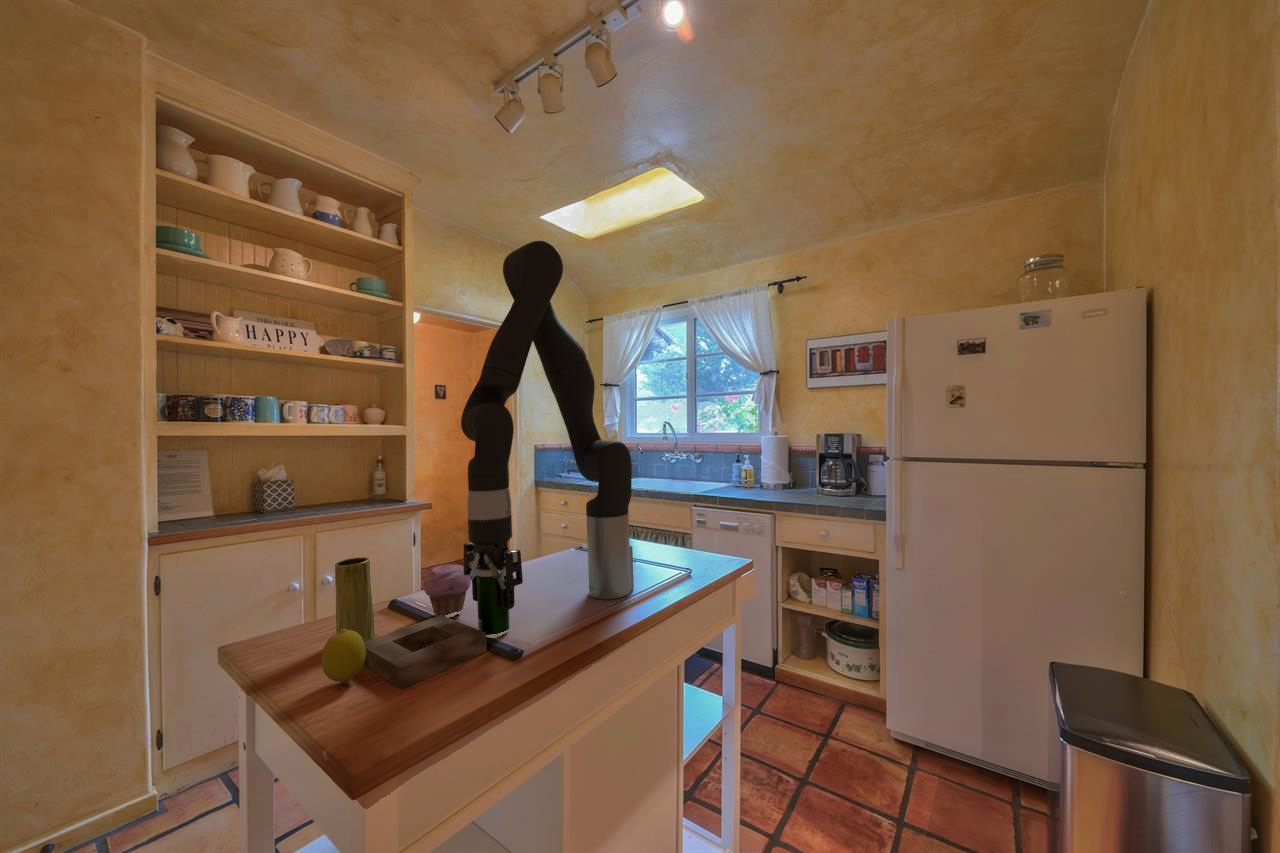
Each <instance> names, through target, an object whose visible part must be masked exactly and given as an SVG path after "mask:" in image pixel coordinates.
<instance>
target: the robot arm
mask: <svg viewBox="0 0 1280 853" xmlns="http://www.w3.org/2000/svg"><path fill="white" fill-rule="evenodd" d="M563 273H564V264H563V259H562V256H561V254H560V252H559V250H557V248H556V247H555V246H554V245H553V244H551V243H550V242H548V241H544V240H534V241H531V242H528V243H526V244H524V245H522V246H521V247H519V248H517V249H515V250H513V251H512V252H510V253H509V254H508V255H506V257H505V258H504V261H503V264H502V275H503V278H504V281H505V284H506V286H507V289H508V291H509V293H510V295H511V297H512V299H513V302H512V304H511V307H510V309H509V311H508V313H507V314H506V316H505V318H504V319H503V321H502V323H501V324H500V325H499V328H498V329H497V331H496V333H495V334H494V337H493V338H492V340H491V343H490V345H489V348H488V350H487V353H486V355H485V359H484V361H483V366H482V369H481V373H480V376H479V379H478V380H477V382H476V384H475V385H474V388H473V390H472V392H471V394H470V395H469V397H468V399H467V401H466V403H465V406H464V408H463V410H462V414H461V420H460V426H461V430H462V433H463V434H464V435H465V437H466V438H467V439H469V440H471V441H473V442H475V444H474V455H473V457H472V458H470V460H469V461H468V464H467V486H468V487H467V489H468V491H467V493H468V494H467V500H466V501H467V504H466V505H467V506H466V508H467V532H468V533H467V534H468V542H466V543H464V544H463V566H464V575H469V578H470V580H471V590H472V591H471V592H472V600H473V601H475V602H477V578H476V574H477V571H478V567H479V566H480V567H484V568H485V569H490V570H491V572H492V575H493V577H494V578H495V579H497V580H498V582H499V584H500V587H501V609H502V610H504V611H506V610H509V611H510V609H513V608H514V607H515V588H516V586H519V585H522V584H523V582H524V578H523V567H522V552H521V550H520V549H514V550H510V549H509V546H508V542H509V540H511V539H512V537H513V521H512V517H513V516H512V515H513V514H512V498H511V493H510V479H509V477H510V476H509V475H510V474H509V472H510V471H509V462H510V457H511V453H512V446H513V439H514V420H513V417H512V414H511V412H510V410H509V409H508V408H507V406H505V405H506V402H507V401H508V399H509V398H510V397H511V396H513V395H514V394H516V392H517V390H518V388H519V385H520V382H521V380H522V376H523V373H524V370H525V366H526V362H527V360H528V356H529V353H530V350H531V347H532V344H533V345H534V347H535V349H536V353H537V354H538V357H539V359H540V362H541V365H542V368H543V371H544V374H545V376H546V379H547V381H548V384H549V386H550V389H551V391H552V393H553V396H554V399H555V401H556V404H557V406H558V409H559V412H560V415H561V417H562V420H563V422H564V425H565V429H566V431H567V434H568V438H569V441H570V445H571V449H572V453H573V457H574V460H575V463H576V466H577V470H578V471H579V473H580V475H581V476H582V477H583V478H584V479H585V480H587V481H590V482H592V483H593V482H594V483H598V484H597V485H598V486H597V488H598V489H597V494H596V496H595V497H594V498H592V499H589V500H588V501H587V502H586V505H585V512H586V518H585V519H586V538H587V541H586V542H587V567H588V592H589V596H590V597H592V598H595V599H600V600H615V599H619V598H624V597H626V596H629V595H630V594H631V593H632V590H633V589H634V588H635V585H634V584H635V582H634V581H635V580H634V579H635V578H634V553H633V546H632V545H631V544H630V541H631V540H630V522H629V520H630V518H629V505H630V502H631V500H632V499H631V498H632V481H633V480H632V478H633V477H632V474H633V471H632V470H633V469H632V466H633V465H632V464H633V463H632V456H631V453H630V450H629V448H628V446H627V445H626V444H625V443H623V442H622V441H619V440H602V438H601V436H600V434H599V431H598V429H597V426H596V424H595V418H594V414H593V409H594V401H595V391H596V390H595V389H596V388H595V385H596V383H595V378H594V375H593V372H592V368H591V366H590V362H589V360H588V357H587V354H586V352H585V349H584V348H583V346H582V345H581V344H580V343H579V341H578V340H577V339H576V338H575V336H574V335H573V334H572V333H571V332H570V331H569V330H568V328H567V327H566V326H565V325H564V324H563V323H562V322H561V320H560V319H559V317H558V316H557V314H556V311H555V309H554V306H553V304H552V301H551V300H552V298H553V296H554V295H555V292H556V291H557V289H558V286H559V284H560V281H561V280H562V276H563ZM470 563H472V564H471V566H470ZM504 566H505V568H506V569H505V570H502V571H499V569H502V568H503V567H504ZM514 573H515V575H514ZM503 576H506V579H507V581H506V582H505V579H504V577H503Z"/></svg>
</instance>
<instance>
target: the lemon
mask: <svg viewBox="0 0 1280 853" xmlns="http://www.w3.org/2000/svg"><path fill="white" fill-rule="evenodd" d="M365 655H366V649H365V644H364V641H363V639H362V637H361V636H360V635H359V634H358V633H357V632H355V631H352V630H347V629H341V630H340V631H339V632H337V633H334V634H333V635H331V637H329V639H328V640H327V641H326V643H325V644H324V646H323V649H322V654H321V668H322V671H323V674H324V675H325V676H326V678H327V679H329V680H331V681H333V682H339V683H341V684H343V685H346V684H347V683H348V682H349V681H350V680H351V679H353V678H354V677H355V676H356V675H357V674H358V673H360V671H361V670H362V668H363V667H364V665H363V664H364V661H365Z"/></svg>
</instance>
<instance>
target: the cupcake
mask: <svg viewBox="0 0 1280 853" xmlns="http://www.w3.org/2000/svg"><path fill="white" fill-rule="evenodd" d="M471 585H472V580H470V578H469V575H464V565H461V564H460V565H459V564H445V565H439V566H436V567H433V568H432V569H430V571H429V573H428V574H427V577H425V579H424V581H423V586H422V587H423V588H422V589H423V591H424V592H425V594H426V595H427V596H429V600H430V604H431V607H432V609H433V614H434V615H435V614H436V615H437V616H439V615H442V616H445V615H448V614H451V613H454V612H459V611H461V610H462V611H463V609H464V605H465V600H466V596H467V595H466V594H467V591H468V590H469V588H470V587H471ZM462 611H461V612H462ZM436 615H435V616H436Z"/></svg>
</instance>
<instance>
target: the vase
mask: <svg viewBox="0 0 1280 853" xmlns="http://www.w3.org/2000/svg"><path fill="white" fill-rule="evenodd" d="M334 570H335V572H334V573H335V574H334V575H335V623H336V629H335V632H336V633H337V632H339V631H340V630H341V629H347V630H352V631H355V632H357V633H358V634H359V635H360V636H361V637H362V639H363V641H364V642H366V641H369V640H371V639H374V638H376V634H375V622H374V621H375V620H374V619H375V618H374V607H373V598H372V597H373V595H372V584H371V582H372V581H371V580H372V579H371V565H370V558H369V557H364V556H363V557H352V558H347V559H342V560H339V561H337V562H336V563H335V566H334ZM336 633H335V634H336Z"/></svg>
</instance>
